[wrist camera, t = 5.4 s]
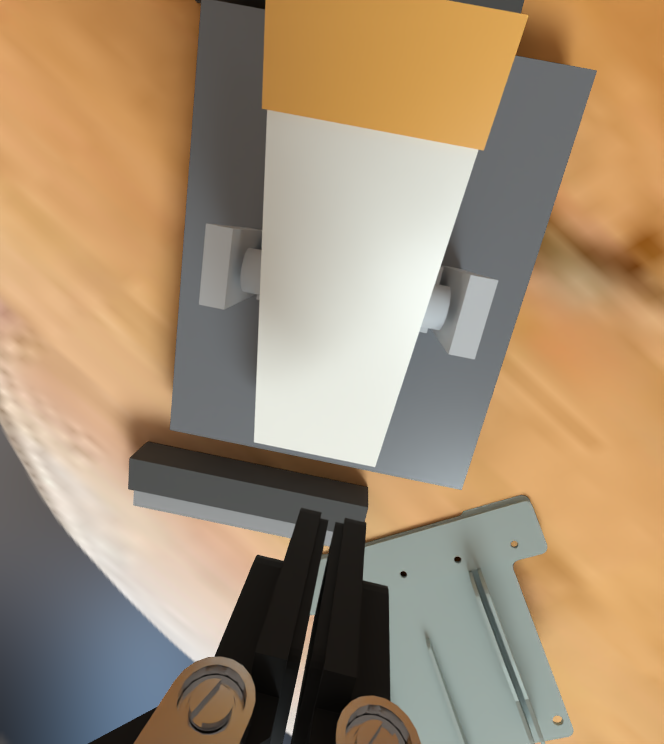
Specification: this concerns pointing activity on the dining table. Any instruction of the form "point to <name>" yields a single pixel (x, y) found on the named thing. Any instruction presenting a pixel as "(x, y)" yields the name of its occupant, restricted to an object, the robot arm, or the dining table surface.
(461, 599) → the metal bracket
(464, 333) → the panel
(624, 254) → the dining table surface
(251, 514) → the pair of grey rails
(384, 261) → the rocker lever
